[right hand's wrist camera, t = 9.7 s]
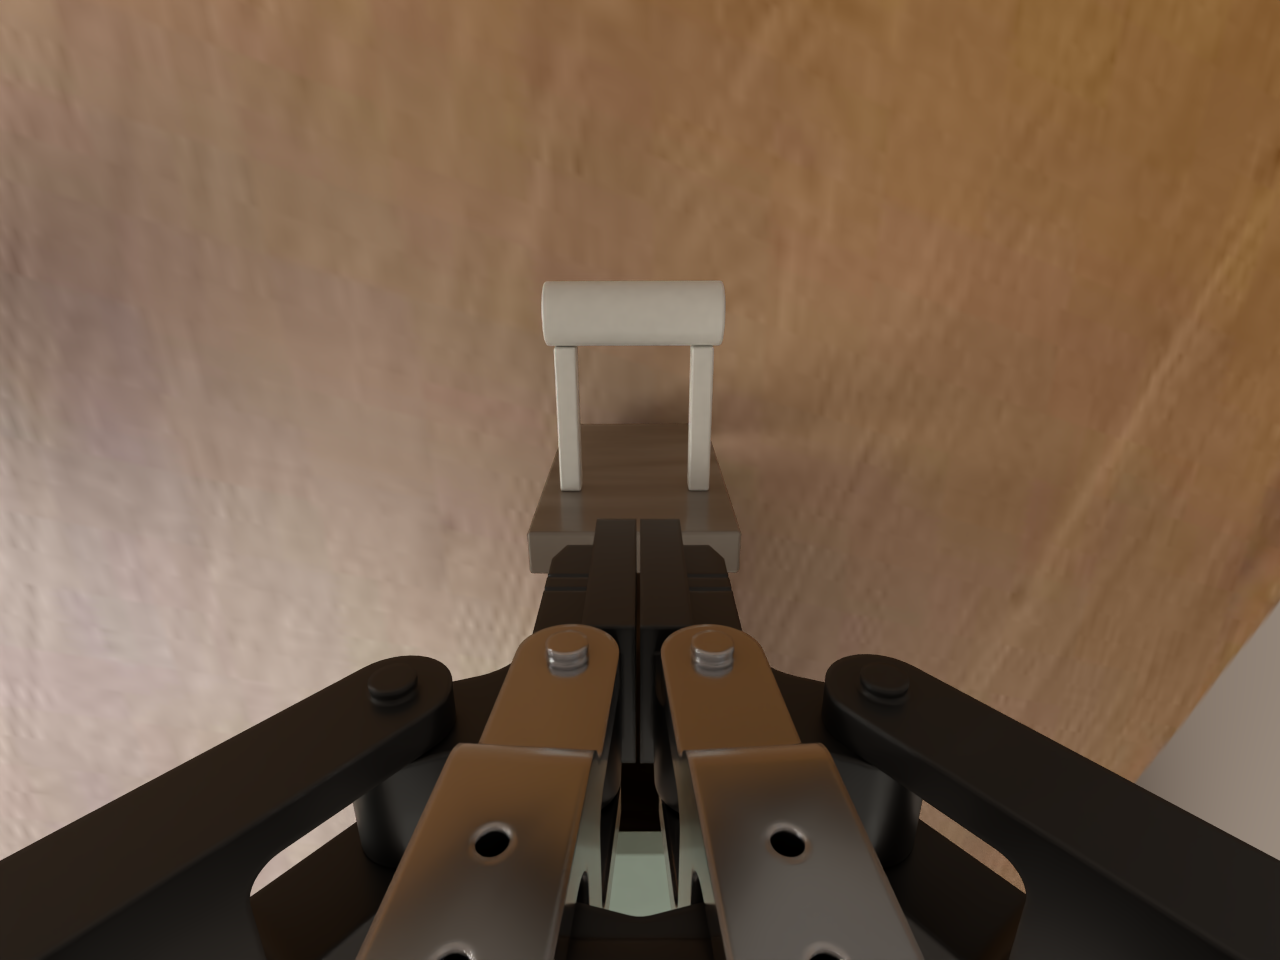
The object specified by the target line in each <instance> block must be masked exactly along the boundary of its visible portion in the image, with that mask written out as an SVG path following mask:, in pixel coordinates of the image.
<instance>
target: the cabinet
mask: <svg viewBox="0 0 1280 960" xmlns="http://www.w3.org/2000/svg"><path fill="white" fill-rule="evenodd" d="M609 910H611V911H615V912H619V913H622V914H626V915H631V916H649V915H654V914H658V913H661V912H665V911H669V910H671V905H670V897H669V889H668V881H667V873H666V865H665V857H664V849H663V841H662V833H661V831H619V833H618V841H617V849H616V857H615V865H614V873H613V881H612V889H611V897H610V905H609Z"/></svg>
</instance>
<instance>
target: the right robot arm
mask: <svg viewBox="0 0 1280 960" xmlns="http://www.w3.org/2000/svg"><path fill="white" fill-rule="evenodd" d="M636 646H637V520H636V518H597V521H596V528H595V535H594V542H593V545H567V546H565V547H564V548H563V549H562V550H561V551H560V552H559V553H558V554H557V555H555V556H554V557H553V558H552V561H551V565H550V569H549V573H548V577H547V580H546V584H545V591H544V592H543V596H542V600H541V604H540V608H539V611H538V615H537V619H536V623H535V627H534V631H533V634H532V635H530V636H529V637H528V638H526V639H525V640H524V641H523V642H522V643H521V644H520V645H519V647H518V649H517V651H516V653H515V656H514V658H513V661H512V663H511V664H509V665H508V666H506V667H504V668H502V669H499V670H497V671H494V672H492V673H489V674H485V675H481V676H477V677H472V678H468V679H463V680H458V681H453V682H452V676H451V673H450V671H449V669H448V668H447V667H446V666H445V665H444V664H443V663H441V662H439V661H437V660H435V659H432V658H429V657H423V656H399V657H393V658H389V659H385V660H381V661H378V662H376V663H373V664H371V665H368V666H366V667H364V668H362V669H360V670H358V671H357V672H355V673H353V674H351V675H349V676H347V677H345V678H343V679H341V680H340V681H338V682H336V683H334V684H332V685H330V686H328V687H326V688H325V689H323V690H321V691H319V692H317V693H315V694H313V695H311V696H309V697H308V698H306V699H304V700H302V701H300V702H298V703H296V704H294V705H293V706H291V707H289V708H287V709H285V710H283V711H281V712H279V713H277V714H276V715H274V716H272V717H270V718H268V719H266V720H264V721H262V722H261V723H259V724H257V725H255V726H253V727H251V728H249V729H247V730H245V731H244V732H242V733H240V734H238V735H236V736H234V737H232V738H230V739H229V740H227V741H225V742H223V743H221V744H219V745H217V746H215V747H213V748H212V749H210V750H208V751H206V752H204V753H202V754H200V755H198V756H197V757H195V758H193V759H191V760H189V761H187V762H185V763H183V764H181V765H180V766H178V767H176V768H174V769H172V770H170V771H168V772H166V773H165V774H163V775H161V776H159V777H157V778H155V779H153V780H151V781H149V782H148V783H146V784H144V785H142V786H140V787H138V788H136V789H134V790H133V791H131V792H129V793H127V794H125V795H123V796H121V797H119V798H117V799H116V800H114V801H112V802H110V803H108V804H106V805H104V806H102V807H101V808H99V809H97V810H95V811H93V812H91V813H89V814H87V815H85V816H84V817H82V818H80V819H78V820H76V821H74V822H72V823H70V824H69V825H67V826H65V827H63V828H61V829H59V830H57V831H55V832H53V833H52V834H50V835H48V836H46V837H44V838H42V839H40V840H38V841H37V842H35V843H33V844H31V845H29V846H27V847H25V848H23V849H21V850H20V851H18V852H16V853H14V854H12V855H10V856H8V857H6V858H5V859H3V860H1V861H0V960H1280V861H1279V860H1277V859H1275V858H1274V857H1272V856H1270V855H1268V854H1266V853H1264V852H1262V851H1260V850H1259V849H1257V848H1255V847H1253V846H1251V845H1249V844H1247V843H1245V842H1243V841H1241V840H1240V839H1238V838H1236V837H1234V836H1232V835H1230V834H1228V833H1226V832H1225V831H1223V830H1221V829H1219V828H1217V827H1215V826H1213V825H1211V824H1210V823H1208V822H1206V821H1204V820H1202V819H1200V818H1198V817H1196V816H1194V815H1193V814H1191V813H1189V812H1187V811H1185V810H1183V809H1181V808H1179V807H1178V806H1176V805H1174V804H1172V803H1170V802H1168V801H1166V800H1164V799H1163V798H1161V797H1159V796H1157V795H1155V794H1153V793H1151V792H1149V791H1147V790H1145V789H1144V788H1142V787H1140V786H1138V785H1136V784H1134V783H1132V782H1131V781H1129V780H1127V779H1125V778H1123V777H1121V776H1119V775H1117V774H1115V773H1114V772H1112V771H1110V770H1108V769H1106V768H1104V767H1102V766H1100V765H1099V764H1097V763H1095V762H1093V761H1091V760H1089V759H1087V758H1085V757H1083V756H1082V755H1080V754H1078V753H1076V752H1074V751H1072V750H1070V749H1068V748H1067V747H1065V746H1063V745H1061V744H1059V743H1057V742H1055V741H1053V740H1051V739H1050V738H1048V737H1046V736H1044V735H1042V734H1040V733H1038V732H1036V731H1035V730H1033V729H1031V728H1029V727H1027V726H1025V725H1023V724H1021V723H1019V722H1018V721H1016V720H1014V719H1012V718H1010V717H1008V716H1006V715H1004V714H1003V713H1001V712H999V711H997V710H995V709H993V708H991V707H989V706H987V705H986V704H984V703H982V702H980V701H978V700H976V699H974V698H972V697H970V696H969V695H967V694H965V693H963V692H961V691H959V690H957V689H955V688H954V687H952V686H950V685H948V684H946V683H944V682H942V681H940V680H938V679H937V678H935V677H933V676H931V675H929V674H927V673H925V672H923V671H922V670H920V669H918V668H916V667H914V666H912V665H910V664H908V663H906V662H903V661H900V660H897V659H894V658H890V657H886V656H881V655H872V654H858V655H852V656H848V657H844V658H842V659H840V660H837V661H836V662H835V663H833V664H832V665H831V666H830V667H829V669H828V670H827V673H826V677H825V682H820V681H816V680H811V679H806V678H802V677H797V676H793V675H789V674H786V673H783V672H780V671H777V670H775V669H773V668H771V667H770V665H769V663H768V661H767V658H766V656H765V653H764V651H763V649H762V647H761V645H760V644H759V643H758V642H757V641H756V640H755V639H754V638H752V637H751V636H750V635H748V634H746V633H745V632H742V628H741V624H740V620H739V616H738V612H737V608H736V604H735V600H734V596H733V592H732V591H731V584H730V580H729V578H728V572H727V568H726V564H725V560H724V558H723V557H722V556H721V555H720V554H719V553H718V552H716V551H715V550H714V549H713V548H712V547H711V546H710V545H683V540H682V532H681V525H680V519H640V763H654V780H655V787H656V790H657V792H658V794H659V817H660V825H661V833H662V841H663V849H664V857H665V865H666V873H667V881H668V889H669V897H670V905H671V910H669V911H665V912H661V913H658V914H654V915H649V916H631V915H626V914H622V913H619V912H615V911H611V910H609V905H610V897H611V889H612V881H613V873H614V865H615V857H616V849H617V841H618V833H619V825H620V817H621V763H636ZM922 800H924V801H926V802H927V803H929V804H930V805H932V806H933V807H935V808H936V809H938V810H939V811H941V812H942V813H943V814H945V815H946V816H948V817H949V818H951V819H952V820H954V821H955V822H957V823H958V824H960V825H961V826H962V827H964V828H965V829H967V830H968V831H970V832H971V833H973V834H974V835H976V836H977V837H979V838H980V839H982V840H983V841H984V842H986V843H987V844H989V845H990V846H992V847H993V848H995V849H996V850H997V851H999V852H1000V853H1001V854H1003V855H1004V856H1005V857H1006V858H1007V859H1008V860H1009V861H1010V862H1011V864H1012V865H1013V866H1014V867H1015V869H1016V870H1017V871H1018V873H1019V875H1020V877H1021V878H1022V881H1023V883H1024V886H1025V890H1026V894H1025V893H1023V892H1022V891H1020V890H1019V889H1018V888H1016V887H1015V886H1013V885H1012V884H1011V883H1009V882H1008V881H1006V880H1005V879H1003V878H1002V877H1001V876H999V875H998V874H996V873H995V872H994V871H992V870H991V869H989V868H988V867H987V866H985V865H984V864H982V863H981V862H979V861H978V860H977V859H975V858H974V857H972V856H971V855H970V854H968V853H967V852H965V851H964V850H963V849H961V848H960V847H958V846H957V845H955V844H954V843H953V842H951V841H950V840H948V839H947V838H946V837H944V836H943V835H941V834H940V833H938V832H937V831H936V830H934V829H933V828H931V827H930V826H929V825H927V824H926V823H924V822H923V821H922V820H920V819H919V815H920V810H921V805H922ZM351 803H353V806H354V811H355V816H356V821H357V822H356V823H354V824H353V825H351V826H350V827H349V828H347V829H346V830H344V831H343V832H341V833H340V834H339V835H337V836H336V837H334V838H333V839H332V840H330V841H329V842H327V843H326V844H325V845H323V846H322V847H320V848H319V849H317V850H316V851H315V852H313V853H312V854H310V855H309V856H308V857H306V858H305V859H303V860H302V861H301V862H299V863H298V864H296V865H295V866H293V867H292V868H291V869H289V870H288V871H286V872H285V873H284V874H282V875H281V876H279V877H278V878H277V879H275V880H274V881H272V882H271V883H269V884H268V885H267V886H265V887H264V888H262V889H261V890H260V891H258V892H257V893H255V894H254V895H252V896H251V897H250V892H251V889H252V886H253V883H254V881H255V879H256V878H257V876H258V874H259V873H260V871H261V870H262V869H263V867H264V866H265V865H266V864H267V863H268V862H269V861H270V860H271V859H272V858H273V857H274V856H276V855H277V854H278V853H279V852H281V851H282V850H284V849H285V848H287V847H288V846H290V845H291V844H293V843H294V842H295V841H297V840H298V839H300V838H301V837H303V836H304V835H306V834H307V833H309V832H310V831H312V830H313V829H315V828H316V827H317V826H319V825H320V824H322V823H323V822H325V821H326V820H328V819H329V818H331V817H332V816H334V815H335V814H337V813H338V812H339V811H341V810H342V809H344V808H345V807H347V806H348V805H350V804H351Z"/></svg>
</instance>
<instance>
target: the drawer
mask: <svg viewBox="0 0 1280 960" xmlns="http://www.w3.org/2000/svg"><path fill="white" fill-rule="evenodd" d="M541 311H542V327H543V335H544V339H545V342H546V344H547V345H548V346H555V348H554V364H555V385H556V405H557V425H558V446H559V447H558V450H557V452H556V455H555V458H554V461H553V464H552V466H551V469H550V472H549V475H548V478H547V480H546V483H545V486H544V489H543V492H542V494H541V497H540V500H539V503H538V506H537V508H536V511H535V514H534V517H533V520H532V522H531V525H530V528H529V531H528V534H527V538H528V553H529V567H530V571H531V573H549V569H550V565H551V561H552V558H553V557H554V556H555V555H557V554H558V553H559V552H560V551H561V550H562V549H563V548H564V547H565V546H567V545H593V542H594V535H595V528H596V521H597V518H636V520H637V646H636V763H621V817H620V825H619V831H661V825H660V817H659V794H658V792H657V790H656V787H655V780H654V763H640V519H680V525H681V532H682V540H683V545H710V546H711V547H712V548H713V549H714V550H715V551H716V552H718V553H719V554H720V555H721V556H722V557H723V558H724V560H725V564H726V568H727V572H728V573H736V572H738V570H739V563H740V545H741V532H740V529H739V526H738V523H737V519H736V516H735V513H734V510H733V507H732V504H731V501H730V498H729V495H728V492H727V488H726V485H725V482H724V479H723V476H722V473H721V470H720V467H719V464H718V461H717V457H716V454H715V451H714V448H713V445H712V442H711V420H712V392H713V364H714V348H713V346H712V345H721V343H722V341H723V336H724V328H725V289H724V284H723V282H722V281H546V282H545V283H544V285H543V289H542V302H541ZM577 346H690V388H689V424H580V400H579V372H578V347H577Z"/></svg>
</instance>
